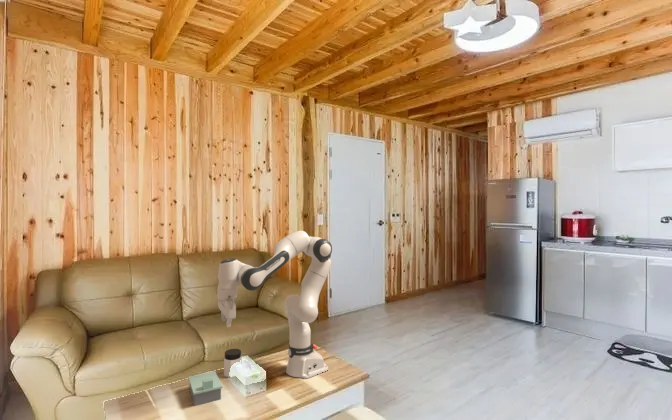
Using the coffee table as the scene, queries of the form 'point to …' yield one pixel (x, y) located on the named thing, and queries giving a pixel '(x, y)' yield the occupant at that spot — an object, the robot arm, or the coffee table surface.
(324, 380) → the coffee table surface
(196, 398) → the tub
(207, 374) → the lid
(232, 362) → the jar
